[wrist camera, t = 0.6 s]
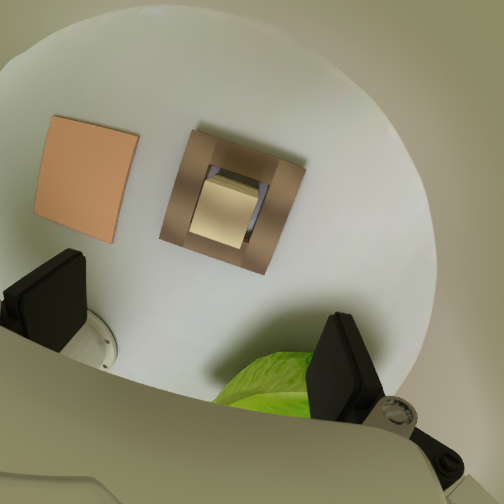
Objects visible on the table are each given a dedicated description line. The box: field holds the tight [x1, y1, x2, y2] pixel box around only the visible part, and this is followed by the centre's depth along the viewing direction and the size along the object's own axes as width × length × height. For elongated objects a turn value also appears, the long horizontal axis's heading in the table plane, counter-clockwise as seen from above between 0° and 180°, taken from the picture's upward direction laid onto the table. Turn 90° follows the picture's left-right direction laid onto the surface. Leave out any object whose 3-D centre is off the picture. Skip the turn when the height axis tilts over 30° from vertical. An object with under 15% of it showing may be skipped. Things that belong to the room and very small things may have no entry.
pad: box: [34, 116, 139, 244], centre depth 34 cm, size 14×14×1 cm
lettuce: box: [212, 352, 314, 419], centre depth 35 cm, size 19×25×17 cm
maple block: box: [189, 174, 259, 249], centre depth 32 cm, size 5×5×8 cm
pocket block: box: [159, 130, 306, 275], centre depth 34 cm, size 13×13×2 cm
